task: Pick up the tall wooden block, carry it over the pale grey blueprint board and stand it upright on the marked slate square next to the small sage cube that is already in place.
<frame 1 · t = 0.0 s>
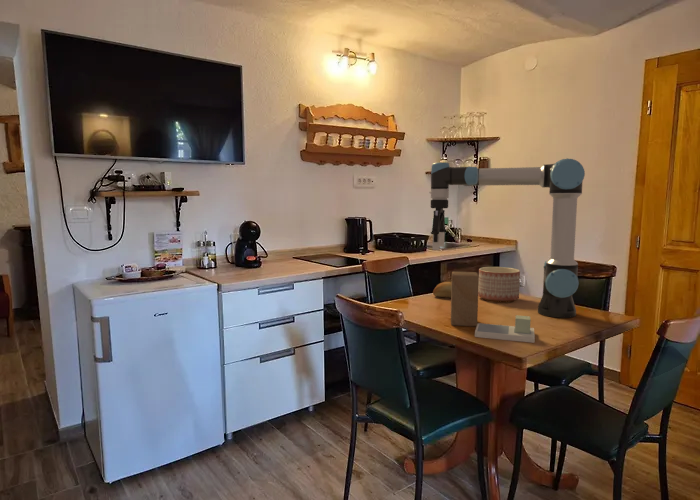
hand: (438, 248, 202), 28 cm above the table, fingers open, 13 cm apart
sage cube: (522, 331, 167), point 2 cm above the table, touching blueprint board
wooden block: (463, 323, 186), on the table
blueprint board: (504, 335, 169), on the table
planter: (498, 299, 230), on the table
bread roll: (448, 297, 234), on the table
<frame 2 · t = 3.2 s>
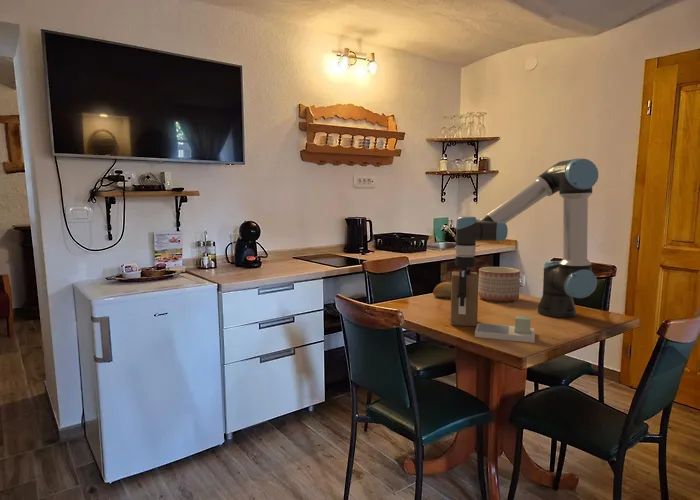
hand: (463, 310, 185), 5 cm above the table, fingers closed on wooden block, 10 cm apart
wooden block: (463, 323, 186), on the table, touching gripper
everything else where it was.
when the fingers open (9 cm above the table, at t = 9.2 s): wooden block drops 2 cm, resting on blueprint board.
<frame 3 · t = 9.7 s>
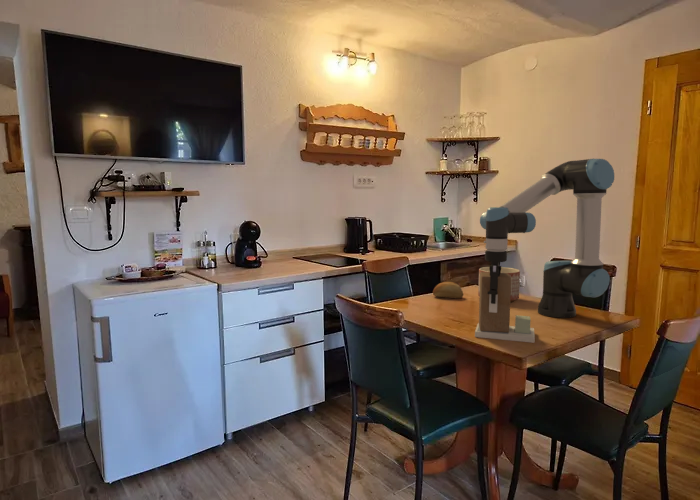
hand: (494, 308, 169), 10 cm above the table, fingers open, 13 cm apart
wooden block: (493, 328, 170), point 2 cm above the table, touching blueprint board
everything else where it was.
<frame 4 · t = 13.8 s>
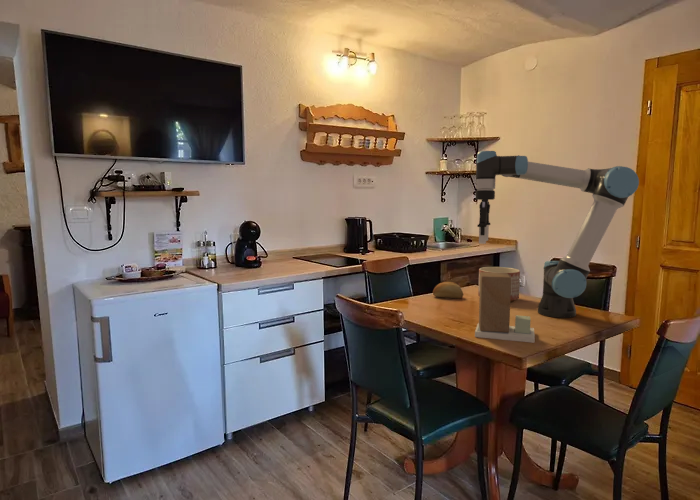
hand: (483, 242, 190), 32 cm above the table, fingers open, 13 cm apart
nothing on the table moved.
at the end: wooden block inside the target area on the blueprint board (0.0 cm from its centre), point 1.9 cm above the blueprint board's base; wooden block tilted 0°; the gripper is holding nothing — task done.
